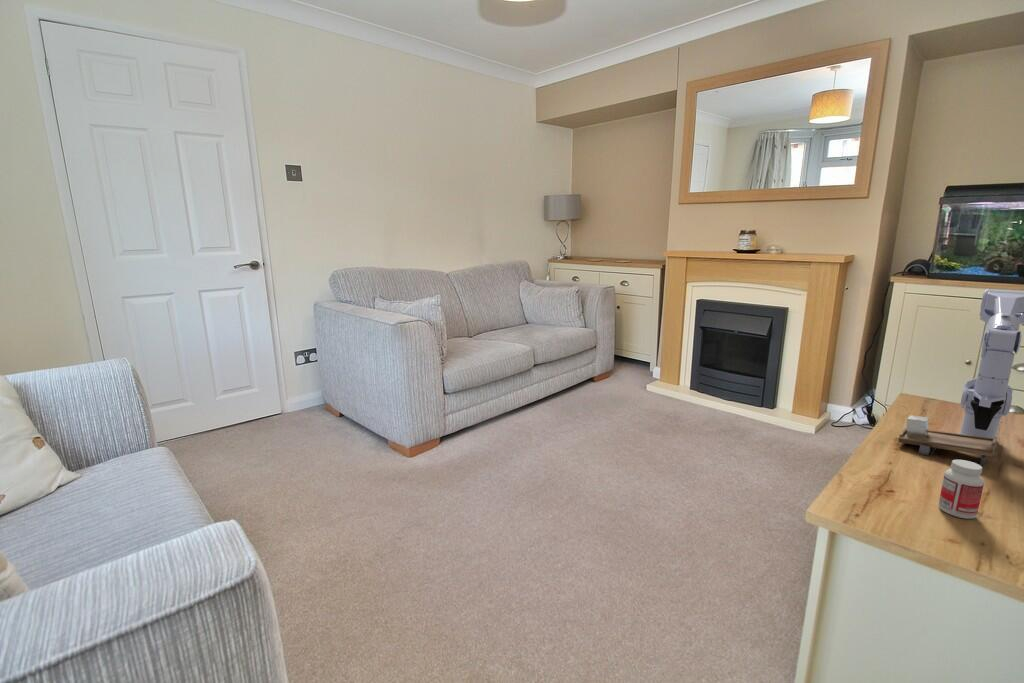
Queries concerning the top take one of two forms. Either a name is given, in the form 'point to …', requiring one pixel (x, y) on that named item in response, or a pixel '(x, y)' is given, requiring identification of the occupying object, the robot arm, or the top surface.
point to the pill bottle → (962, 489)
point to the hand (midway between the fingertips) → (981, 427)
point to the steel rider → (917, 426)
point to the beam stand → (930, 450)
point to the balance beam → (953, 442)
